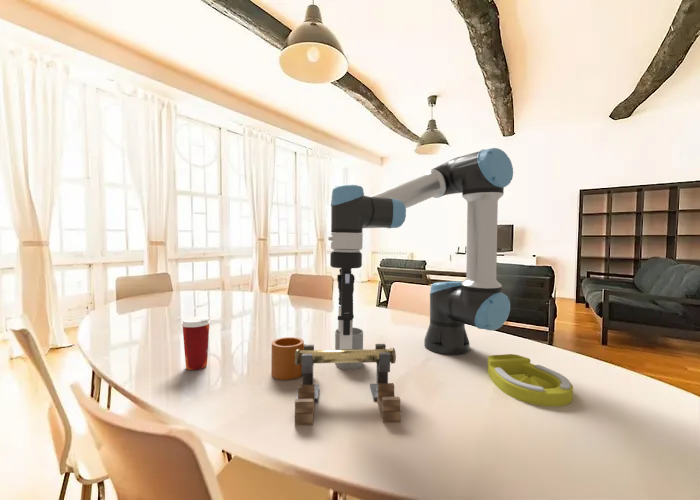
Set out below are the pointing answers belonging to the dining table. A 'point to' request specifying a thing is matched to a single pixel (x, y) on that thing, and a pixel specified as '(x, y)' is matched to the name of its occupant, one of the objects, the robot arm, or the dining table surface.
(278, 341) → the mug
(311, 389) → the rest
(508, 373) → the ashtray
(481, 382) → the dining table surface
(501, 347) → the dining table surface
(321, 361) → the rail
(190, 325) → the paper cup
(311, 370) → the post
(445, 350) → the robot arm
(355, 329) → the cup
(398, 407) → the rest
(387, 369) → the post
